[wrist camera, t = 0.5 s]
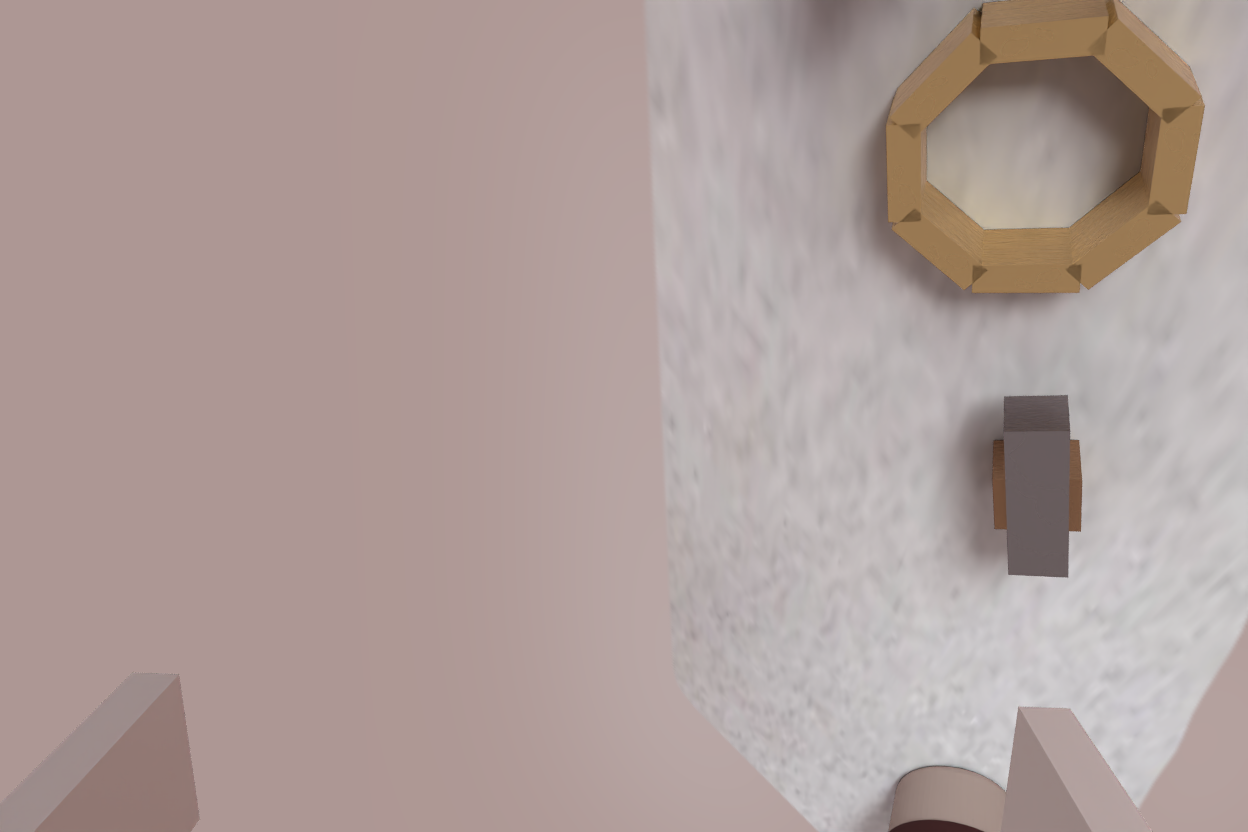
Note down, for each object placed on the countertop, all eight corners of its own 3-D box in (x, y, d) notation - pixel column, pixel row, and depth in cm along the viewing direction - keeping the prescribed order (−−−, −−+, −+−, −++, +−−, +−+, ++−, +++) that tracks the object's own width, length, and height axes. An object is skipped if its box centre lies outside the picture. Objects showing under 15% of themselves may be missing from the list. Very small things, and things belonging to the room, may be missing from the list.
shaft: (990, 360, 42) (987, 431, 38) (1080, 356, 41) (1087, 431, 37) (995, 497, 46) (993, 573, 43) (1077, 498, 45) (1083, 578, 41)
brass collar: (892, 12, 35) (883, 37, 33) (1207, -21, 31) (1222, 5, 29) (896, 257, 41) (889, 292, 38) (1163, 253, 37) (1172, 292, 35)
